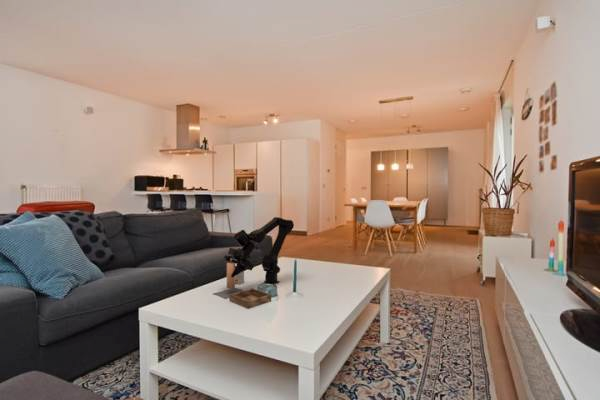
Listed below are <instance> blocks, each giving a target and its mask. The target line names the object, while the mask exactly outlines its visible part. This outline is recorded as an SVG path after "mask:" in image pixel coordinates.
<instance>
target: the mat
mask: <svg viewBox="0 0 600 400" xmlns="http://www.w3.org/2000/svg"><path fill="white" fill-rule="evenodd" d="M241 291H244V290H242V289H239V288H237V287H235V288H232V289H229V288H227V289H225V290H222V291H221V290H220V291H218V292H213V293H212V295H215V296H217V297H219V298H221V299H224V300H227V299H230V294H234V293H237V292H241Z"/></svg>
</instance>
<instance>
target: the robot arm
mask: <svg viewBox="0 0 600 400" xmlns="http://www.w3.org/2000/svg"><path fill="white" fill-rule="evenodd" d="M294 226H295V225H294V222H293V220H291V219H285V218H282V217H279V216H276V217H273V218H272V219H270V221H268V222H267V223H266V224H264V225H263V226H262V227H260V228H258V229H255V230H252V231H251V232H250V233H247V232H246V230H245V229H241V230H240V231H238V232H236V233H235V234H234V235H233V239H234V241H235V242H237V243H238V245H239V246H240V247H241V248H239V247H238V248H237V249H236V248H231V247H229V249H228V253H227V255H225V256H224V257H223V260H225V262H226V264H227V263H228V262H235V264H237V266H235V270H234V271H233V273H232V275H231V277H234V276H236V275H237V274H239V273H241V272H243V271H244V272H245V271H247V270H249V271H253V269H254V264H253V263H252V261H250V260H249V259H251V254H252V253H253V252H254V251H255V250H256V251H258V250H259V248H258V244H260V243H261V244H262V242H263V241H264V240H265V239H266V236H267V235H268V234H269V233H270V232H272V231H273V230H275V228H277V227H278V234H277V236H276V238H275V240H274V242H273V244H272V248H271V250H270V251H269V253H268V254H264V256H263V259H262V260H261V267H262V269H263V272H265V280H264V281H263V282H264V283H266V284H268V283H273V284H278V283H280V280H278V274H279V273H280V272H281V267H279V265H278V262H279V260H278V257H279V255H280V252H281V250H282V247H283V245H284V241H285V240H286V238H287V236H288V234H290V233H291V232H292V231H293V228H294ZM255 243H256V244H255ZM224 275H225V276H226V277H227V270H226V272H225V274H224ZM273 284H272V285H273Z"/></svg>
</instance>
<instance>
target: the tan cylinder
mask: <svg viewBox="0 0 600 400" xmlns="http://www.w3.org/2000/svg"><path fill="white" fill-rule="evenodd" d="M234 270H235V262H228V263H227V262H226V271H227V276H226V289H232V288H236V284H235V276H234V277H231V275H232V273H233V271H234Z"/></svg>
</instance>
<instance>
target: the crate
mask: <svg viewBox="0 0 600 400" xmlns="http://www.w3.org/2000/svg"><path fill="white" fill-rule="evenodd" d="M229 302H231V303H234V304H236V305H238V306H241V307H243V308H246V309H247V310H249V309H251V308H255V307H257V306H261V305H264V304H267V303H270V302H272V294H270V293H268V292H264V291H261V290H259V289H255V288H249V289H245V290H243V291H241V292H237V293H234V294H230V298H229Z"/></svg>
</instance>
